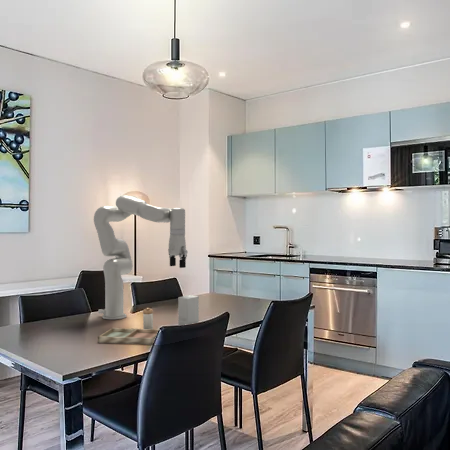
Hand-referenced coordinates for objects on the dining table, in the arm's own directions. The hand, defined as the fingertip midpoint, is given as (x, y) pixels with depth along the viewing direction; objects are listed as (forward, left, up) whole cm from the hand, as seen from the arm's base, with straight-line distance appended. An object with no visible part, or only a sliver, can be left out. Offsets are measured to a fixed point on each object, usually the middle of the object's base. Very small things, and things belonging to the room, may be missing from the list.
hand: (177, 266), depth 230 cm
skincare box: (+8, -9, -29) cm, 31 cm away
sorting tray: (-13, -31, -29) cm, 44 cm away
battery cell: (-10, -16, -29) cm, 34 cm away
